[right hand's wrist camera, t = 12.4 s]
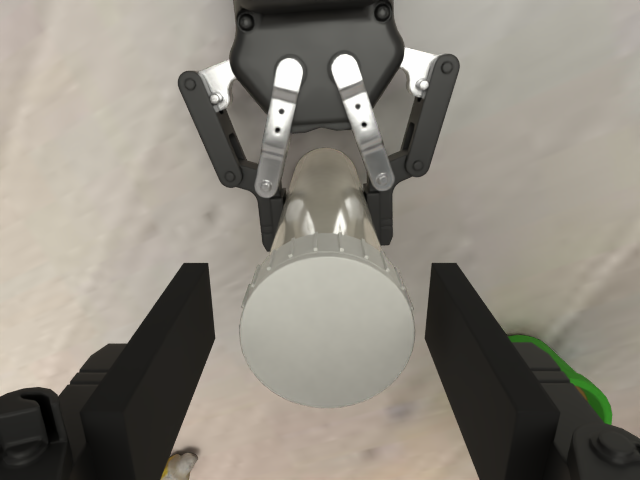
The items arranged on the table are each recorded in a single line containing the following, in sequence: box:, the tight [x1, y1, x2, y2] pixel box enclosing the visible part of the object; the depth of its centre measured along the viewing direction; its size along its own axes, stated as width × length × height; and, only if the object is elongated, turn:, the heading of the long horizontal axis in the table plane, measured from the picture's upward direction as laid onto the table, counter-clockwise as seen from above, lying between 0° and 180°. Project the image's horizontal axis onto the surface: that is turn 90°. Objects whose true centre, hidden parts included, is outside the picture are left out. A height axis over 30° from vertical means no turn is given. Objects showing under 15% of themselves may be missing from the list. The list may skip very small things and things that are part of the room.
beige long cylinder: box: [269, 148, 382, 256], centre depth 22 cm, size 4×4×19 cm
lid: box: [239, 232, 415, 408], centre depth 14 cm, size 5×5×2 cm
